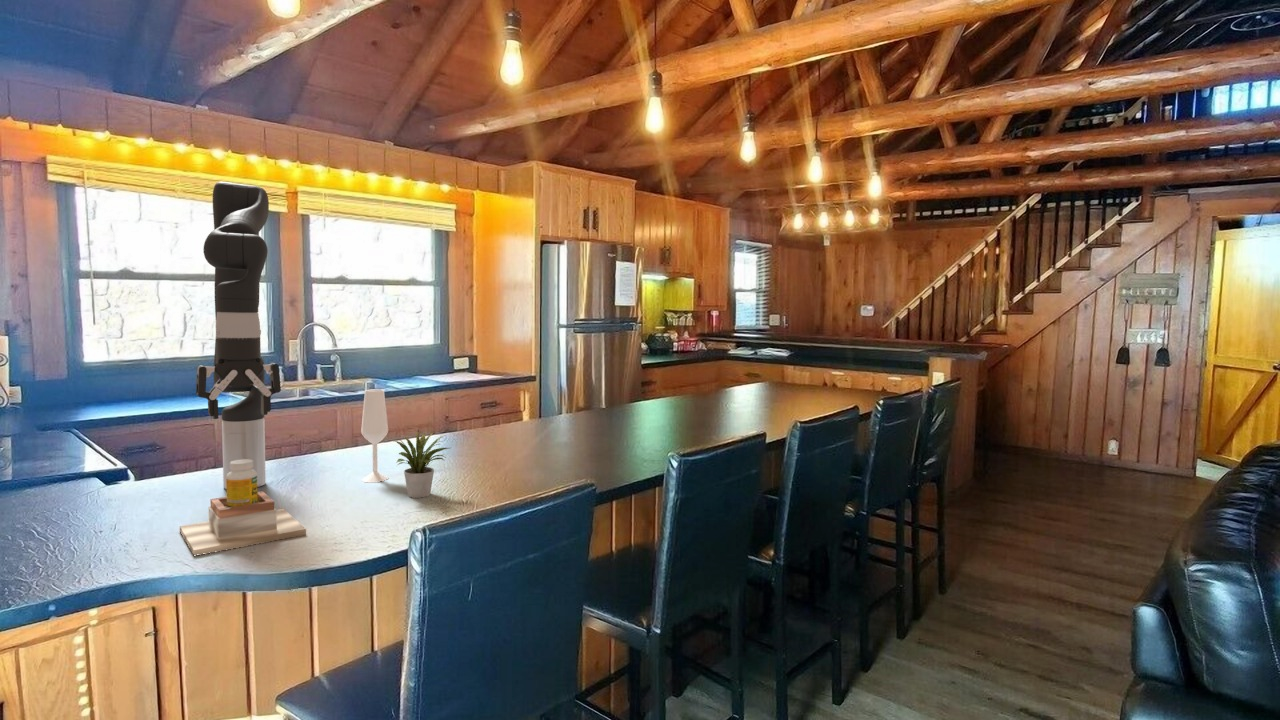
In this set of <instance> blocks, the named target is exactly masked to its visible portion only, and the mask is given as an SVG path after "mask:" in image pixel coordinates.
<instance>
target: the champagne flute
mask: <svg viewBox="0 0 1280 720" xmlns="http://www.w3.org/2000/svg"><path fill="white" fill-rule="evenodd" d="M363 395H364V396H363V397H364V398H363V408H362V418H361V419H362V420H361V429H360V433H361V435H362V437H364V439H365V440H366V441H368V442H369V443H370V444H372V472H371V473H370V474H368V475H367V476H365V477H364V478H362V479H361V481H362V482H364V483H379V482H380V481H382V482H385V481H387V480H386V479H388V480H389V477H388V476H386V475H384V474H382V473H380V472H378V444H379V443H380V442H382V440H383V439H384V438H386V437H387V435H388V433H389V423H388V415H387V413H388V412H387V404H386V397H385V396H386V395H385V390H384V389H381V388H377V389H376V388H375V389H374V388H373V389H365V390H364V394H363ZM384 480H385V481H384Z"/></svg>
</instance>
